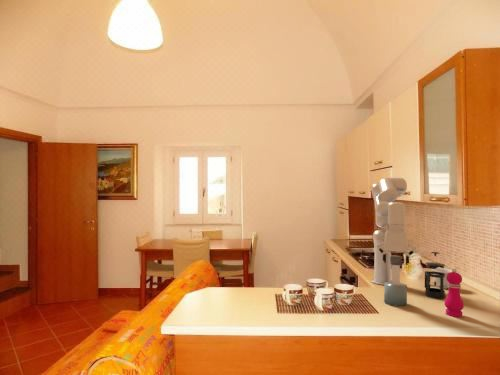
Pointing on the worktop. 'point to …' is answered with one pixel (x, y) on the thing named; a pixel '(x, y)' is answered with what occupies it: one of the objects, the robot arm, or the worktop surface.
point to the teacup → (443, 278)
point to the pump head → (395, 260)
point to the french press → (434, 292)
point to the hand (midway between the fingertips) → (395, 263)
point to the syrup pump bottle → (395, 289)
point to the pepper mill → (454, 295)
